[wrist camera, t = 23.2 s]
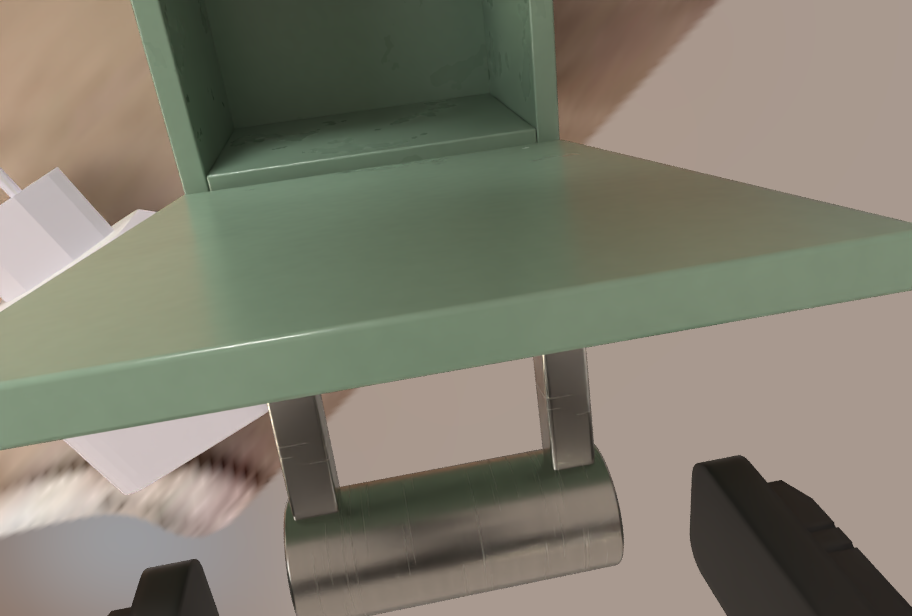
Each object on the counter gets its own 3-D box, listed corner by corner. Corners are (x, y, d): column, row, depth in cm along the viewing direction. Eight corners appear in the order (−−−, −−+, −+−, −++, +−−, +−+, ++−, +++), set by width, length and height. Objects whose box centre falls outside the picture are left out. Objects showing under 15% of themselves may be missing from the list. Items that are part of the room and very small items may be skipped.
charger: (72, 86, 30) (293, 350, 36) (-103, 206, 31) (144, 443, 37) (29, 105, 26) (288, 400, 32) (-172, 244, 26) (119, 504, 33)
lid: (-161, 410, 8) (2, 791, 9) (938, 226, 9) (912, 592, 10) (181, 195, 23) (219, 351, 25) (563, 138, 24) (576, 292, 26)
